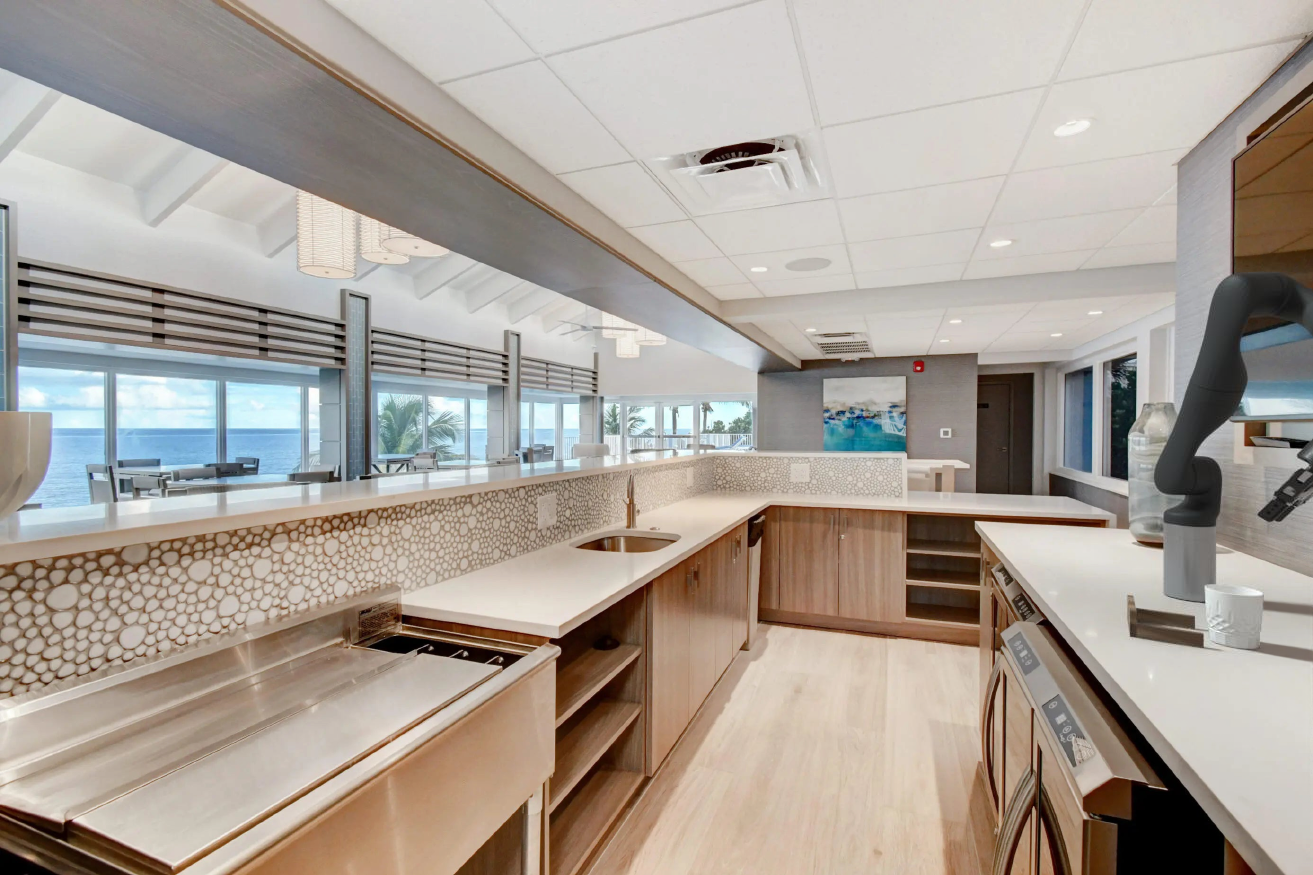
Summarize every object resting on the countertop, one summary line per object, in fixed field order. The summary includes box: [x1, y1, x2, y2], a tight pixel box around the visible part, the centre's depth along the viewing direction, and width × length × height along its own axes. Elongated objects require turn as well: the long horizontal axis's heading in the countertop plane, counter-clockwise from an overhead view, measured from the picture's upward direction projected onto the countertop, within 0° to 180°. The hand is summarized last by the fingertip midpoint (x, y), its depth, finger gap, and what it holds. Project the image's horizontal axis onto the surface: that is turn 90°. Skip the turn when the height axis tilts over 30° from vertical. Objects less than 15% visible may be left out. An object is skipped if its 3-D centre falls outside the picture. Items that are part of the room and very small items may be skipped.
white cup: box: [1205, 583, 1265, 650], centre depth 109 cm, size 8×8×10 cm
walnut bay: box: [1126, 594, 1205, 649], centre depth 115 cm, size 13×10×5 cm
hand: (1267, 519), depth 108 cm, fingers open, 8 cm apart
